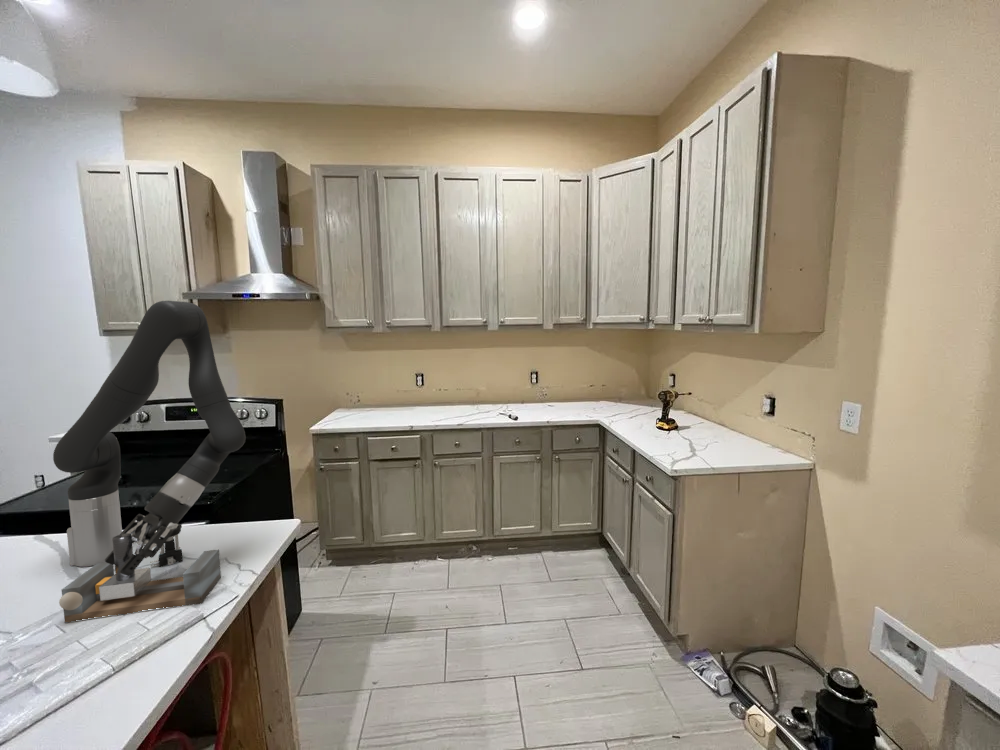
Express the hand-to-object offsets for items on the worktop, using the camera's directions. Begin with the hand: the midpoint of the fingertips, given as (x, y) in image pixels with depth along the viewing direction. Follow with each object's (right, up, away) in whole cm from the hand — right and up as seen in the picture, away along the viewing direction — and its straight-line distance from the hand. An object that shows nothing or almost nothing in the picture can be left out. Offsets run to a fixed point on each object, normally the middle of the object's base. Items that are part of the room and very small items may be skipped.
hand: (116, 568), depth 88 cm
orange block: (-3, -5, +1) cm, 6 cm away
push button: (-3, -7, +17) cm, 19 cm away
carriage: (+1, -5, +2) cm, 6 cm away
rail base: (+5, -8, +3) cm, 10 cm away
